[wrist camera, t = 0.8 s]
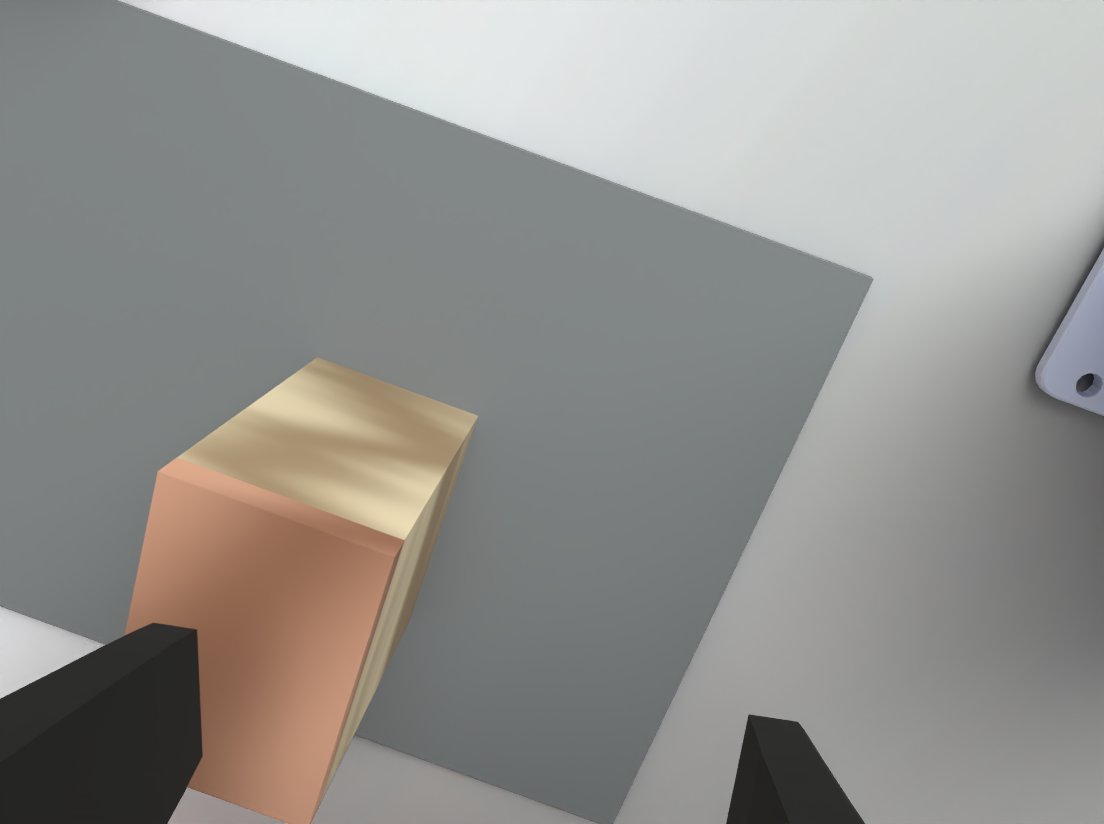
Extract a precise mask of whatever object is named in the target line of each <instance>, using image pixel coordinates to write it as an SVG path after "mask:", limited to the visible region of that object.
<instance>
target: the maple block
mask: <svg viewBox="0 0 1104 824" xmlns="http://www.w3.org/2000/svg"><path fill="white" fill-rule="evenodd" d="M477 418H478V416H477V415H475V414H472V413H469V412H466V411H464V410H461V409H458V408H455V407H453V406H450V405H447V404H444V403H442V402H439V401H436V400H433V399H431V398H428V397H425V396H422V395H420V394H417V393H414V392H412V391H409V390H406V389H403V388H401V387H398V386H395V385H392V384H390V383H387V382H384V381H381V380H379V379H376V378H373V377H370V376H368V375H365V374H362V373H359V372H357V371H354V370H351V369H349V368H346V367H343V366H340V365H338V364H335V363H332V362H329V361H327V360H324V359H321V358H318V357H317V358H316V359H314V360H313V361H311V362H310V363H309V364H307V365H306V366H304V367H303V368H302V369H300V370H299V371H297V372H296V373H295V374H293V375H292V376H290V377H289V378H288V379H286V380H285V381H283V382H282V383H281V384H279V385H278V386H276V387H275V388H274V389H272V390H271V391H269V392H268V393H267V394H265V395H264V396H262V397H261V398H260V399H258V400H257V401H255V402H254V403H253V404H251V405H250V406H248V407H247V408H246V409H244V410H243V411H241V412H240V413H239V414H237V415H236V416H234V417H233V418H232V419H230V420H229V421H227V422H226V423H225V424H223V425H222V426H220V427H219V428H218V429H216V430H215V431H213V432H212V433H211V434H209V435H208V436H206V437H205V438H204V439H202V440H201V441H199V442H198V443H197V444H195V445H194V446H192V447H191V448H190V449H188V450H187V451H185V452H184V453H183V454H181V455H180V456H178V457H177V458H176V459H174V460H173V461H171V462H170V463H169V464H167V465H166V466H164V467H163V468H162V469H160V470H159V471H158V473H157V477H156V482H155V487H154V492H153V497H152V502H151V507H150V512H149V517H148V522H147V527H146V532H145V537H144V542H143V547H142V552H141V557H140V562H139V567H138V572H137V577H136V582H135V587H134V592H133V596H132V601H131V606H130V611H129V616H128V621H127V626H126V631H125V635H127V634H129V633H131V632H133V631H135V630H137V629H140V628H142V627H144V626H147V625H149V624H151V623H159V624H166V625H172V626H179V627H185V628H192V629H197V637H198V660H199V683H200V706H201V729H202V752H203V757H202V759H201V761H200V762H199V764H198V766H197V768H196V770H195V772H194V774H193V776H192V778H191V780H190V782H189V784H188V786H187V787H189V788H191V789H194V790H197V791H200V792H202V793H205V794H208V795H211V796H214V797H216V798H219V799H222V800H225V801H227V802H230V803H233V804H236V805H238V806H241V807H244V808H247V809H249V810H252V811H255V812H258V813H260V814H263V815H266V816H269V817H271V818H274V819H277V820H280V821H282V822H285V823H288V824H311V822H312V820H313V818H314V816H315V814H316V812H317V810H318V808H319V806H320V804H321V801H322V799H323V797H324V795H325V793H326V791H327V789H328V787H329V785H330V783H331V781H332V779H333V777H334V775H335V773H336V771H337V769H338V767H339V765H340V763H341V760H342V758H343V756H344V754H345V752H346V750H347V748H348V746H349V744H350V742H351V740H352V738H353V736H354V734H355V732H356V730H357V728H358V726H359V724H360V722H361V719H362V717H363V715H364V713H365V711H366V709H367V707H368V705H369V703H370V701H371V699H372V697H373V695H374V693H375V691H376V689H377V687H378V685H379V683H380V681H381V679H382V676H383V674H384V672H385V670H386V668H387V666H388V664H389V662H390V660H391V658H392V656H393V654H394V652H395V650H396V648H397V646H398V644H399V642H400V640H401V638H402V635H403V633H404V631H405V629H406V627H407V625H408V623H409V621H410V618H411V615H412V612H413V609H414V606H415V603H416V600H417V597H418V594H419V591H420V588H421V585H422V582H423V579H424V576H425V573H426V570H427V567H428V564H429V561H430V558H431V555H432V552H433V549H434V546H435V543H436V540H437V537H438V534H439V531H440V528H441V525H442V522H443V519H444V516H445V513H446V510H447V507H448V505H449V502H450V499H451V496H452V493H453V490H454V487H455V484H456V481H457V478H458V475H459V472H460V469H461V466H462V463H463V460H464V457H465V454H466V451H467V448H468V445H469V442H470V439H471V436H472V433H473V430H474V427H475V424H476V421H477Z"/></svg>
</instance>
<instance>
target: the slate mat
mask: <svg viewBox="0 0 1104 824" xmlns="http://www.w3.org/2000/svg"><path fill="white" fill-rule="evenodd" d="M872 281H873V278H872V277H870V276H868V275H865V274H862V273H860V272H857V271H854V270H851V269H849V268H846V267H843V266H840V265H838V264H835V263H832V262H830V261H827V260H824V259H821V258H819V257H816V256H813V255H810V254H808V253H805V252H802V251H800V250H797V249H794V248H791V247H789V246H786V245H783V244H780V243H778V242H775V241H772V240H770V239H767V238H764V237H761V236H759V235H756V234H753V233H750V232H748V231H745V230H742V229H740V228H737V227H734V226H731V225H729V224H726V223H723V222H720V221H718V220H715V219H712V218H709V217H707V216H704V215H701V214H699V213H696V212H693V211H690V210H688V209H685V208H682V207H679V206H677V205H674V204H671V203H669V202H666V201H663V200H660V199H658V198H655V197H652V196H649V195H647V194H644V193H641V192H639V191H636V190H633V189H630V188H628V187H625V186H622V185H619V184H617V183H614V182H611V181H609V180H606V179H603V178H600V177H598V176H595V175H592V174H589V173H587V172H584V171H581V170H579V169H576V168H573V167H570V166H568V165H565V164H562V163H559V162H557V161H554V160H551V159H549V158H546V157H543V156H540V155H538V154H535V153H532V152H529V151H527V150H524V149H521V148H519V147H516V146H513V145H510V144H508V143H505V142H502V141H499V140H497V139H494V138H491V137H489V136H486V135H483V134H480V133H478V132H475V131H472V130H469V129H467V128H464V127H461V126H459V125H456V124H453V123H450V122H448V121H445V120H442V119H439V118H437V117H434V116H431V115H429V114H426V113H423V112H420V111H418V110H415V109H412V108H409V107H407V106H404V105H401V104H399V103H396V102H393V101H390V100H388V99H385V98H382V97H379V96H377V95H374V94H371V93H369V92H366V91H363V90H360V89H358V88H355V87H352V86H349V85H347V84H344V83H341V82H338V81H336V80H333V79H330V78H328V77H325V76H322V75H319V74H317V73H314V72H311V71H308V70H306V69H303V68H300V67H298V66H295V65H292V64H289V63H287V62H284V61H281V60H278V59H276V58H273V57H270V56H268V55H265V54H262V53H259V52H257V51H254V50H251V49H248V48H246V47H243V46H240V45H238V44H235V43H232V42H229V41H227V40H224V39H221V38H218V37H216V36H213V35H210V34H208V33H205V32H202V31H199V30H197V29H194V28H191V27H188V26H186V25H183V24H180V23H178V22H175V21H172V20H169V19H167V18H164V17H161V16H158V15H156V14H153V13H150V12H148V11H145V10H142V9H139V8H137V7H134V6H131V5H128V4H126V3H123V2H120V1H118V0H0V606H1V607H4V608H7V609H10V610H12V611H15V612H18V613H21V614H23V615H26V616H29V617H32V618H34V619H37V620H40V621H43V622H45V623H48V624H51V625H54V626H56V627H59V628H62V629H65V630H67V631H70V632H73V633H76V634H78V635H81V636H84V637H87V638H89V639H92V640H95V641H98V642H100V643H103V644H106V645H107V644H109V643H111V642H113V641H115V640H117V639H119V638H121V637H123V636H125V631H126V626H127V621H128V616H129V611H130V606H131V601H132V596H133V592H134V587H135V582H136V577H137V572H138V567H139V562H140V557H141V552H142V547H143V542H144V537H145V532H146V527H147V522H148V517H149V512H150V507H151V502H152V497H153V492H154V487H155V482H156V477H157V473H158V471H159V470H160V469H162V468H163V467H164V466H166V465H167V464H169V463H170V462H171V461H173V460H174V459H176V458H177V457H178V456H180V455H181V454H183V453H184V452H185V451H187V450H188V449H190V448H191V447H192V446H194V445H195V444H197V443H198V442H199V441H201V440H202V439H204V438H205V437H206V436H208V435H209V434H211V433H212V432H213V431H215V430H216V429H218V428H219V427H220V426H222V425H223V424H225V423H226V422H227V421H229V420H230V419H232V418H233V417H234V416H236V415H237V414H239V413H240V412H241V411H243V410H244V409H246V408H247V407H248V406H250V405H251V404H253V403H254V402H255V401H257V400H258V399H260V398H261V397H262V396H264V395H265V394H267V393H268V392H269V391H271V390H272V389H274V388H275V387H276V386H278V385H279V384H281V383H282V382H283V381H285V380H286V379H288V378H289V377H290V376H292V375H293V374H295V373H296V372H297V371H299V370H300V369H302V368H303V367H304V366H306V365H307V364H309V363H310V362H311V361H313V360H314V359H316V358H317V357H318V358H321V359H324V360H327V361H329V362H332V363H335V364H338V365H340V366H343V367H346V368H349V369H351V370H354V371H357V372H359V373H362V374H365V375H368V376H370V377H373V378H376V379H379V380H381V381H384V382H387V383H390V384H392V385H395V386H398V387H401V388H403V389H406V390H409V391H412V392H414V393H417V394H420V395H422V396H425V397H428V398H431V399H433V400H436V401H439V402H442V403H444V404H447V405H450V406H453V407H455V408H458V409H461V410H464V411H466V412H469V413H472V414H475V415H477V416H478V418H477V421H476V424H475V427H474V430H473V433H472V436H471V439H470V442H469V445H468V448H467V451H466V454H465V457H464V460H463V463H462V466H461V469H460V472H459V475H458V478H457V481H456V484H455V487H454V490H453V493H452V496H451V499H450V502H449V505H448V507H447V510H446V513H445V516H444V519H443V522H442V525H441V528H440V531H439V534H438V537H437V540H436V543H435V546H434V549H433V552H432V555H431V558H430V561H429V564H428V567H427V570H426V573H425V576H424V579H423V582H422V585H421V588H420V591H419V594H418V597H417V600H416V603H415V606H414V609H413V612H412V615H411V618H410V621H409V623H408V625H407V627H406V629H405V631H404V633H403V635H402V638H401V640H400V642H399V644H398V646H397V648H396V650H395V652H394V654H393V656H392V658H391V660H390V662H389V664H388V666H387V668H386V670H385V672H384V674H383V676H382V679H381V681H380V683H379V685H378V687H377V689H376V691H375V693H374V695H373V697H372V699H371V701H370V703H369V705H368V707H367V709H366V711H365V713H364V715H363V717H362V719H361V722H360V724H359V726H358V728H357V730H356V732H355V734H354V735H357V736H359V737H362V738H365V739H368V740H370V741H373V742H376V743H379V744H381V745H384V746H387V747H390V748H392V749H395V750H398V751H401V752H403V753H406V754H409V755H412V756H414V757H417V758H420V759H423V760H425V761H428V762H431V763H434V764H436V765H439V766H442V767H445V768H447V769H450V770H453V771H456V772H458V773H461V774H464V775H467V776H469V777H472V778H475V779H478V780H480V781H483V782H486V783H489V784H491V785H494V786H497V787H500V788H502V789H505V790H508V791H511V792H513V793H516V794H519V795H522V796H525V797H527V798H530V799H533V800H536V801H538V802H541V803H544V804H547V805H549V806H552V807H555V808H558V809H560V810H563V811H566V812H569V813H571V814H574V815H577V816H580V817H582V818H585V819H588V820H591V821H593V822H596V823H599V824H613V823H614V820H615V818H616V816H617V814H618V812H619V810H620V808H621V806H622V804H623V802H624V800H625V797H626V795H627V793H628V791H629V789H630V787H631V785H632V783H633V781H634V779H635V777H636V774H637V772H638V770H639V768H640V766H641V764H642V762H643V760H644V758H645V756H646V754H647V751H648V749H649V747H650V745H651V743H652V741H653V739H654V737H655V735H656V733H657V731H658V729H659V726H660V724H661V722H662V720H663V718H664V716H665V714H666V712H667V710H668V708H669V706H670V703H671V701H672V699H673V697H674V695H675V693H676V691H677V689H678V687H679V685H680V683H681V680H682V678H683V676H684V674H685V672H686V670H687V668H688V666H689V664H690V662H691V660H692V657H693V655H694V653H695V651H696V649H697V647H698V645H699V643H700V641H701V639H702V637H703V634H704V632H705V630H706V628H707V626H708V624H709V622H710V620H711V618H712V616H713V614H714V611H715V609H716V607H717V605H718V603H719V601H720V599H721V597H722V595H723V593H724V591H725V588H726V586H727V584H728V582H729V580H730V578H731V576H732V574H733V572H734V570H735V568H736V566H737V563H738V561H739V559H740V557H741V555H742V553H743V551H744V549H745V547H746V545H747V543H748V540H749V538H750V536H751V534H752V532H753V530H754V528H755V526H756V524H757V522H758V520H759V517H760V515H761V513H762V511H763V509H764V507H765V505H766V503H767V501H768V499H769V497H770V494H771V492H772V490H773V488H774V486H775V484H776V482H777V480H778V478H779V476H780V474H781V471H782V469H783V467H784V465H785V463H786V461H787V459H788V457H789V455H790V453H791V451H792V448H793V446H794V444H795V442H796V440H797V438H798V436H799V434H800V432H801V430H802V428H803V425H804V423H805V421H806V419H807V417H808V415H809V413H810V411H811V409H812V407H813V405H814V403H815V400H816V398H817V396H818V394H819V392H820V390H821V388H822V386H823V384H824V382H825V380H826V377H827V375H828V373H829V371H830V369H831V367H832V365H833V363H834V361H835V359H836V357H837V354H838V352H839V350H840V348H841V346H842V344H843V342H844V340H845V338H846V336H847V334H848V331H849V329H850V327H851V325H852V323H853V321H854V319H855V317H856V315H857V313H858V311H859V308H860V306H861V304H862V302H863V300H864V298H865V296H866V294H867V292H868V290H869V288H870V285H871V283H872Z"/></svg>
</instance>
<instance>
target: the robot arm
mask: <svg viewBox="0 0 1104 824" xmlns="http://www.w3.org/2000/svg"><path fill="white" fill-rule="evenodd" d="M1088 373H1092V374H1093V376H1094V381H1093V384H1092V385H1091V386H1090V387H1089V388H1088V389H1087V390H1085V391H1082V392H1077V390H1076V384H1077V381H1078V380H1079V379H1080V378H1081V377H1082V376H1083V375H1086V374H1088ZM1035 378H1036V383H1037V384H1038V386H1039V387H1040V389H1041V390H1043V391H1044V392H1046V393H1047V394H1049V395H1050V396H1052V397H1053V398H1056V399H1059V400H1061V401H1064V402H1067V403H1070V404H1072V405H1075V406H1078V407H1081V408H1083V409H1086V410H1089V411H1091V412H1094V413H1097V414H1100V415H1102V416H1104V249H1103V250H1102V252H1101V254H1100V256H1099V258H1098V259H1097V261H1096V263H1095V265H1094V266H1093V268H1092V270H1091V272H1090V273H1089V275H1088V277H1087V279H1086V281H1085V282H1084V284H1083V286H1082V288H1081V289H1080V291H1079V293H1078V295H1077V296H1076V298H1075V300H1074V302H1073V304H1072V305H1071V307H1070V309H1069V311H1068V312H1067V314H1066V316H1065V318H1064V319H1063V321H1062V323H1061V325H1060V327H1059V328H1058V330H1057V332H1056V334H1055V335H1054V337H1053V339H1052V341H1051V342H1050V344H1049V346H1048V348H1047V349H1046V351H1045V353H1044V355H1043V357H1042V358H1041V360H1040V362H1039V364H1038V366H1037V369H1036V372H1035ZM202 757H203V752H202V729H201V706H200V683H199V660H198V637H197V629H192V628H185V627H179V626H172V625H166V624H159V623H151V624H149V625H147V626H144V627H142V628H140V629H137V630H135V631H133V632H131V633H129V634H127V635H125V636H123V637H121V638H119V639H117V640H115V641H113V642H111V643H109V644H107V645H105V646H103V647H101V648H99V649H97V650H95V651H93V652H91V653H89V654H87V655H85V656H83V657H81V658H79V659H77V660H76V661H74V662H72V663H70V664H68V665H66V666H64V667H62V668H60V669H58V670H56V671H54V672H52V673H50V674H48V675H46V676H44V677H42V678H40V679H38V680H36V681H35V682H33V683H31V684H29V685H27V686H25V687H23V688H21V689H19V690H17V691H15V692H13V693H11V694H9V695H7V696H5V697H3V698H1V699H0V824H167V823H168V821H169V819H170V817H171V816H172V814H173V812H174V810H175V808H176V807H177V805H178V803H179V801H180V799H181V798H182V796H183V794H184V792H185V790H186V788H187V786H188V784H189V782H190V780H191V778H192V776H193V774H194V772H195V770H196V768H197V766H198V764H199V762H200V761H201V759H202ZM726 824H865V823H864V821H863V820H862V818H861V817H860V815H859V814H858V812H857V811H856V809H855V808H854V806H853V805H852V803H851V802H850V800H849V799H848V797H847V796H846V794H845V793H844V791H843V790H842V788H841V787H840V785H839V784H838V782H837V781H836V779H835V778H834V776H833V774H832V773H831V771H830V770H829V768H828V767H827V765H826V764H825V762H824V760H823V759H822V757H821V756H820V754H819V753H818V751H817V749H816V748H815V746H814V745H813V743H812V741H811V740H810V738H809V737H808V735H807V734H806V732H805V731H804V729H803V728H802V727H801V725H800V724H799V723H798V722H794V721H788V720H781V719H775V718H768V717H762V716H755V715H749V716H748V720H747V725H746V730H745V735H744V740H743V745H742V750H741V755H740V759H739V764H738V769H737V774H736V779H735V784H734V789H733V794H732V799H731V803H730V808H729V813H728V818H727V823H726Z"/></svg>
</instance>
